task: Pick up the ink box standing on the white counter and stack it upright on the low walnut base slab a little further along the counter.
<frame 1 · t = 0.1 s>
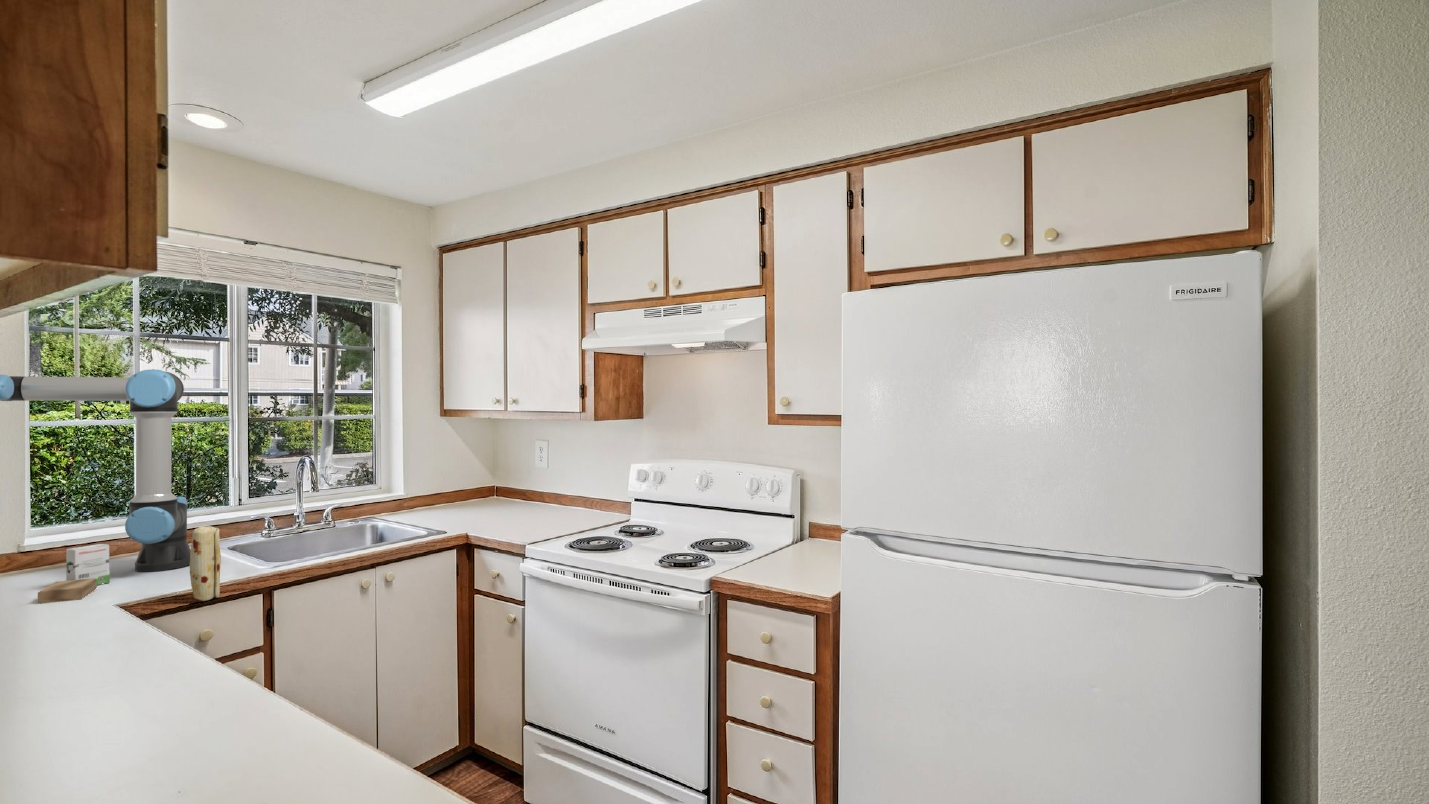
ink box: (88, 586, 201), on the countertop
base: (68, 596, 190), on the countertop
food model: (205, 600, 186), on the countertop
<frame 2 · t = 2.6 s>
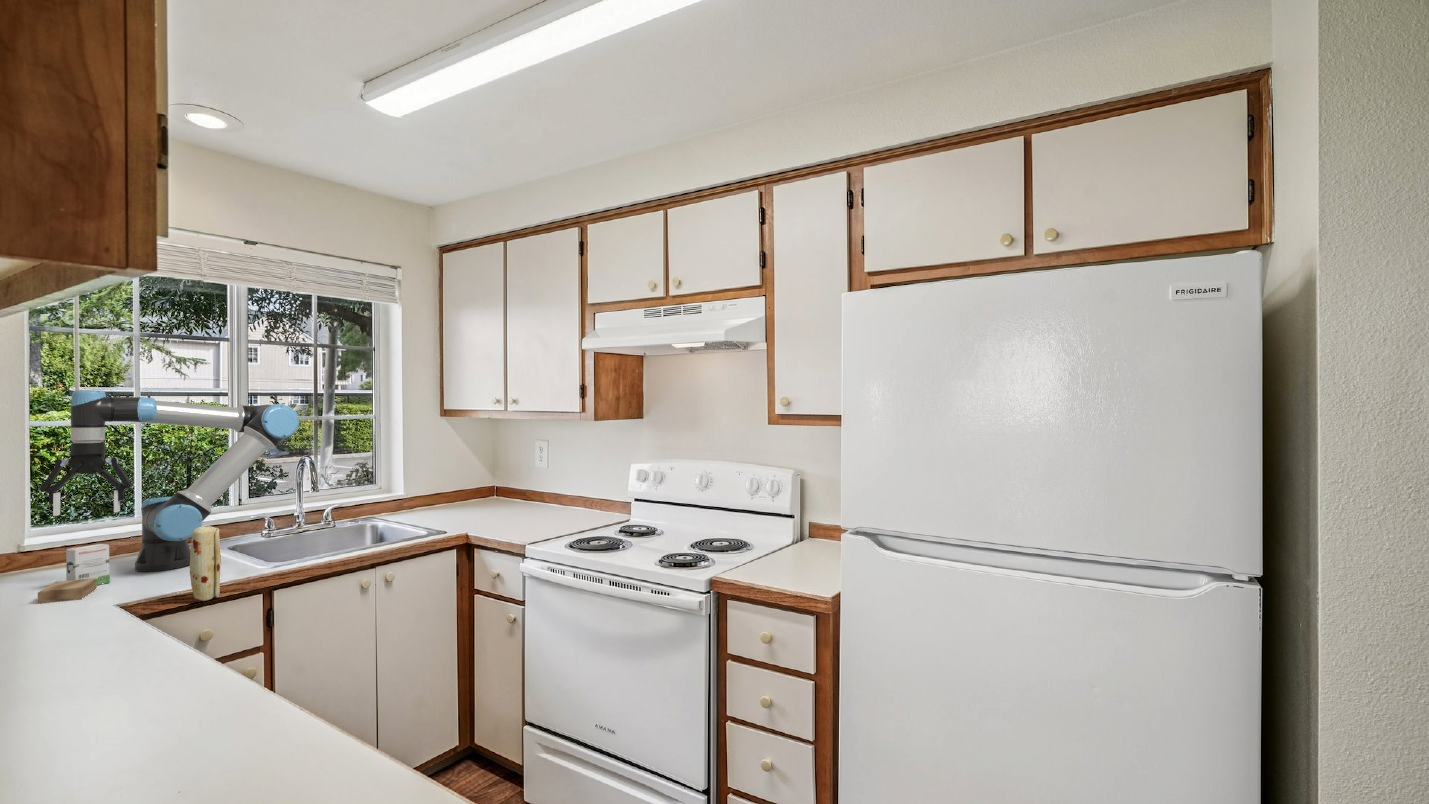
hand: (87, 513, 201), 21 cm above the countertop, fingers open, 13 cm apart
nothing on the countertop moved.
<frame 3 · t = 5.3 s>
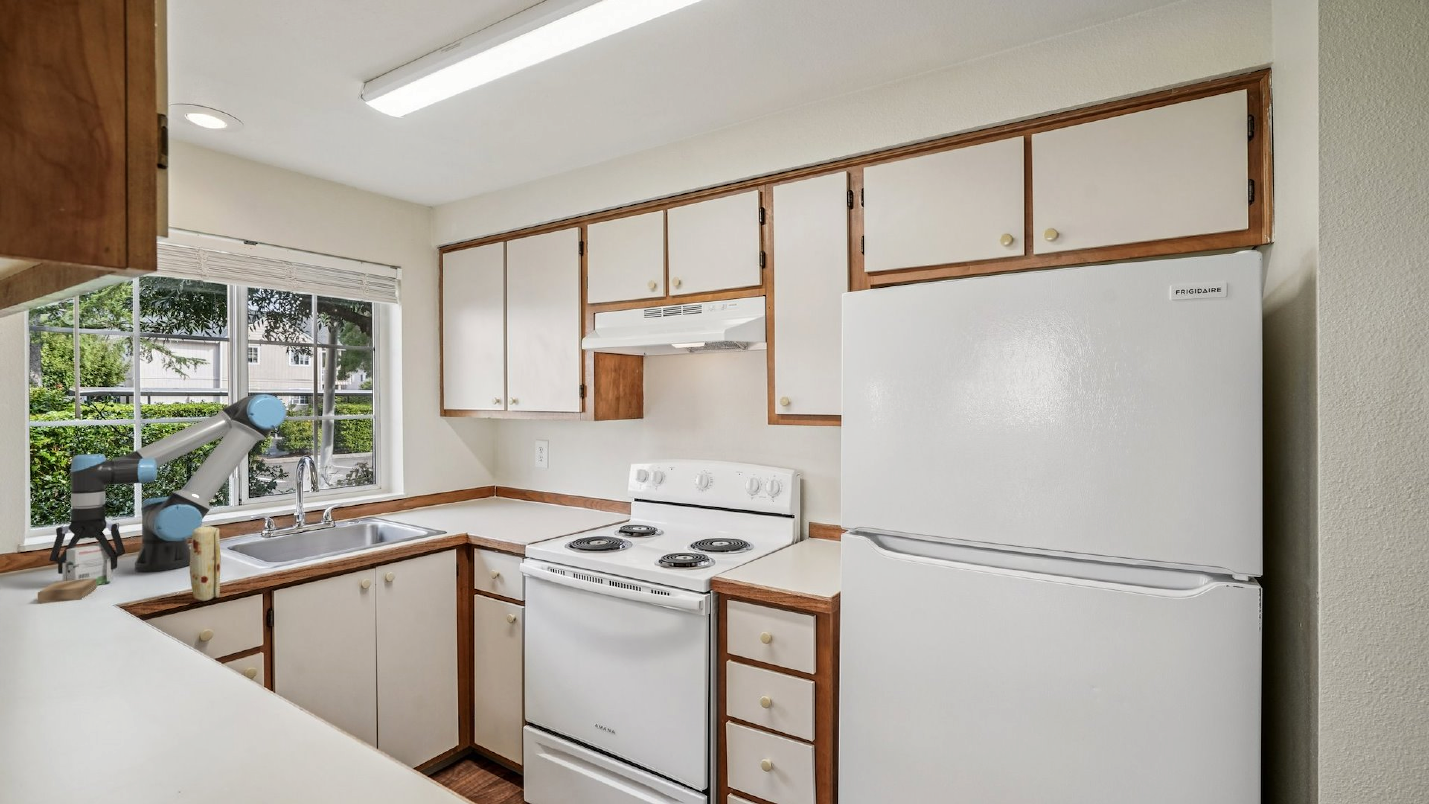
hand: (88, 582, 201), 1 cm above the countertop, fingers closed on ink box, 9 cm apart
ink box: (88, 586, 201), on the countertop, touching gripper
everything else where it was.
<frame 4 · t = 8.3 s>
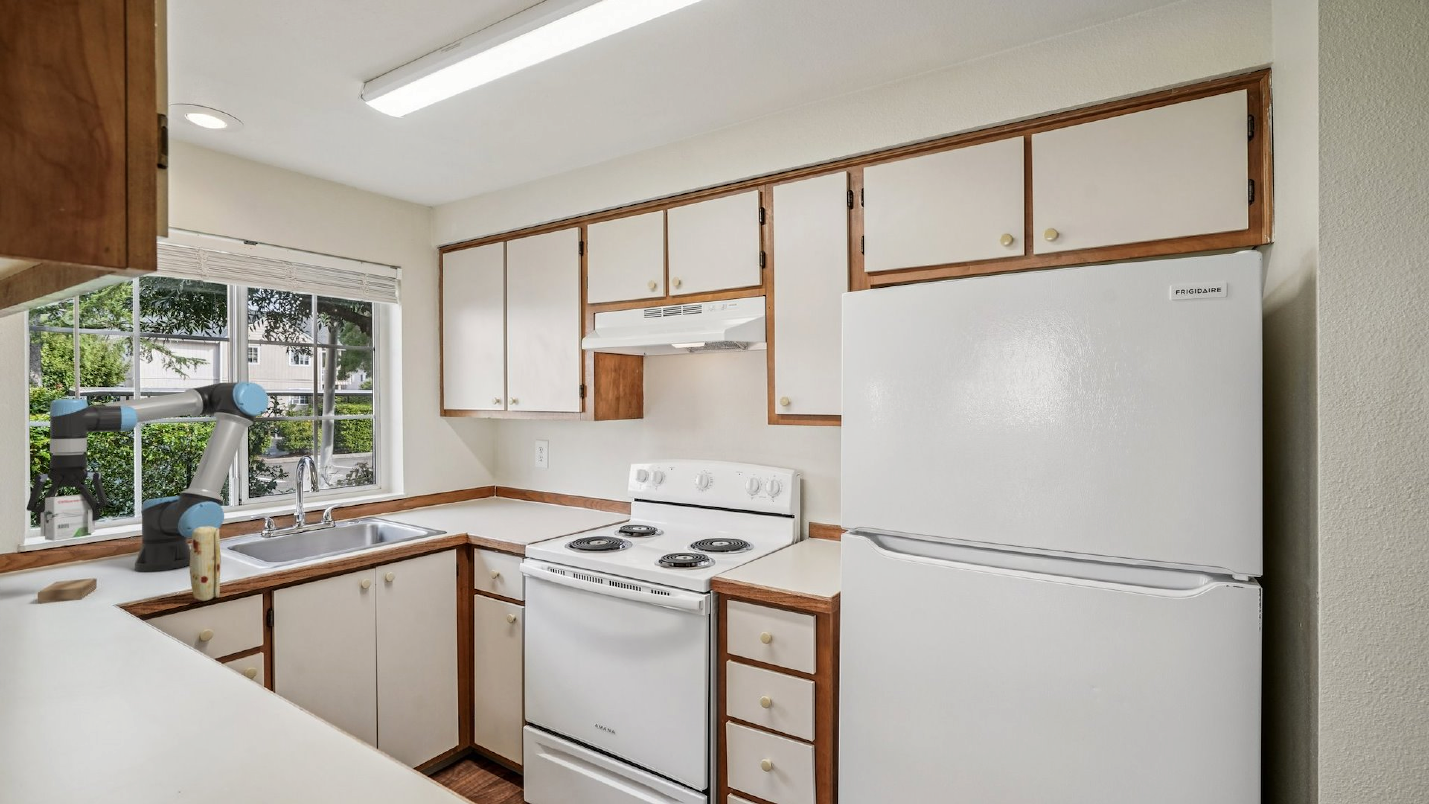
hand: (68, 533, 190), 17 cm above the countertop, fingers closed on ink box, 9 cm apart
ink box: (68, 538, 190), point 16 cm above the countertop, touching gripper
everything else where it was.
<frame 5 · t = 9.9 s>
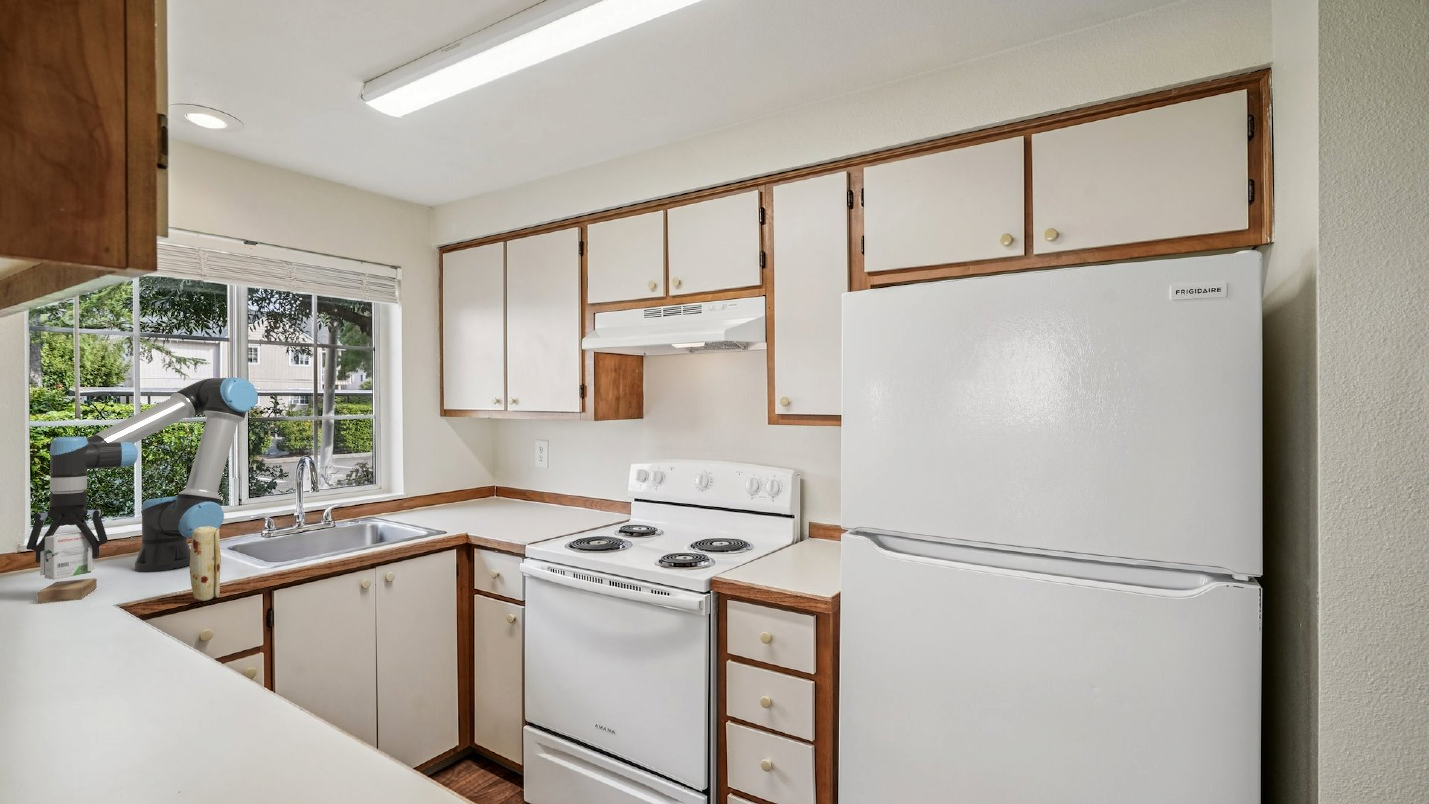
hand: (67, 572, 190), 7 cm above the countertop, fingers closed on ink box, 9 cm apart
ink box: (67, 576, 190), point 6 cm above the countertop, touching gripper
everything else where it was.
when the fingers open (5 cm above the countertop, at t = 11.3 s): ink box stays where it is, resting on base.
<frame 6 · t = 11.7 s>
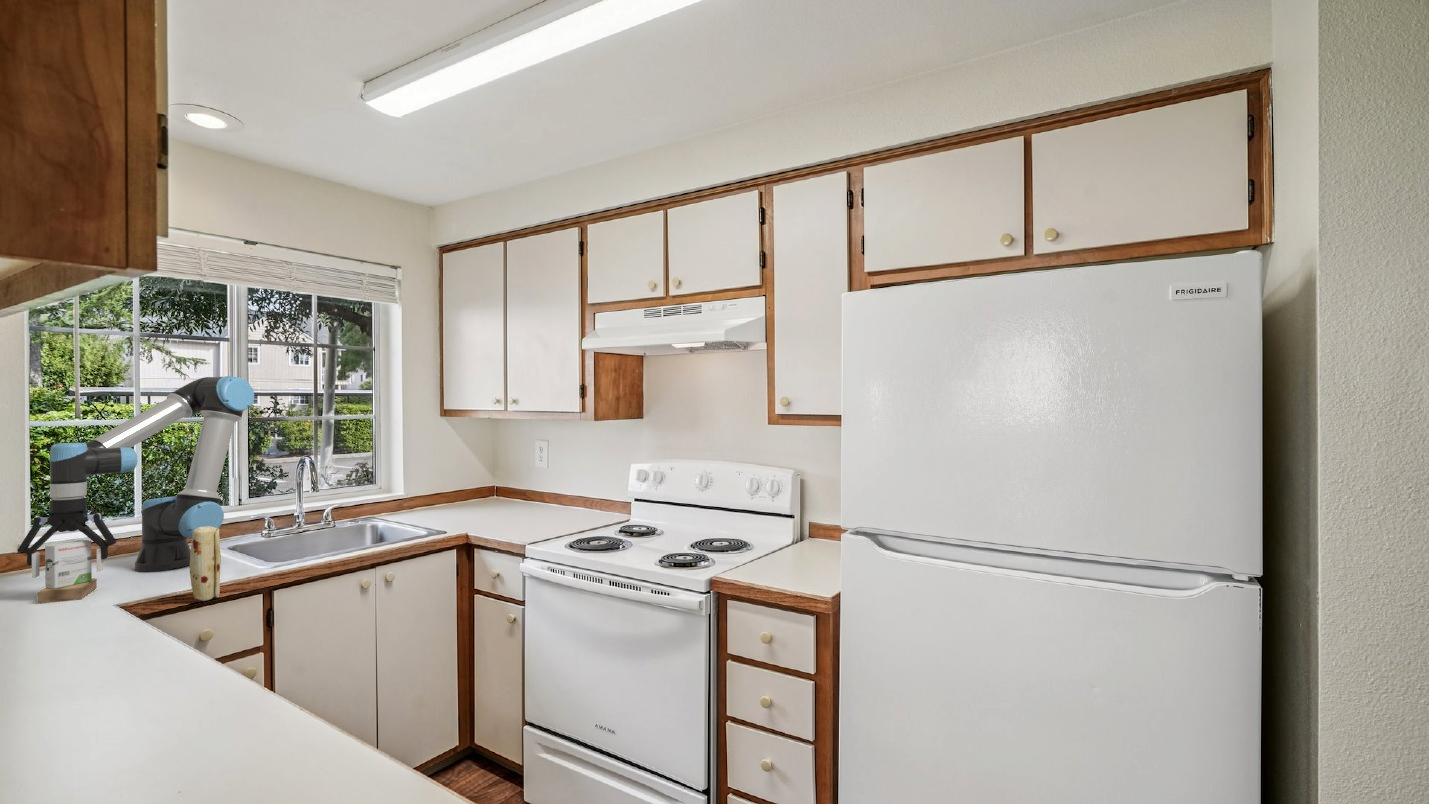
hand: (68, 573, 190), 6 cm above the countertop, fingers open, 13 cm apart
ink box: (68, 585, 190), point 3 cm above the countertop, touching base
everything else where it was.
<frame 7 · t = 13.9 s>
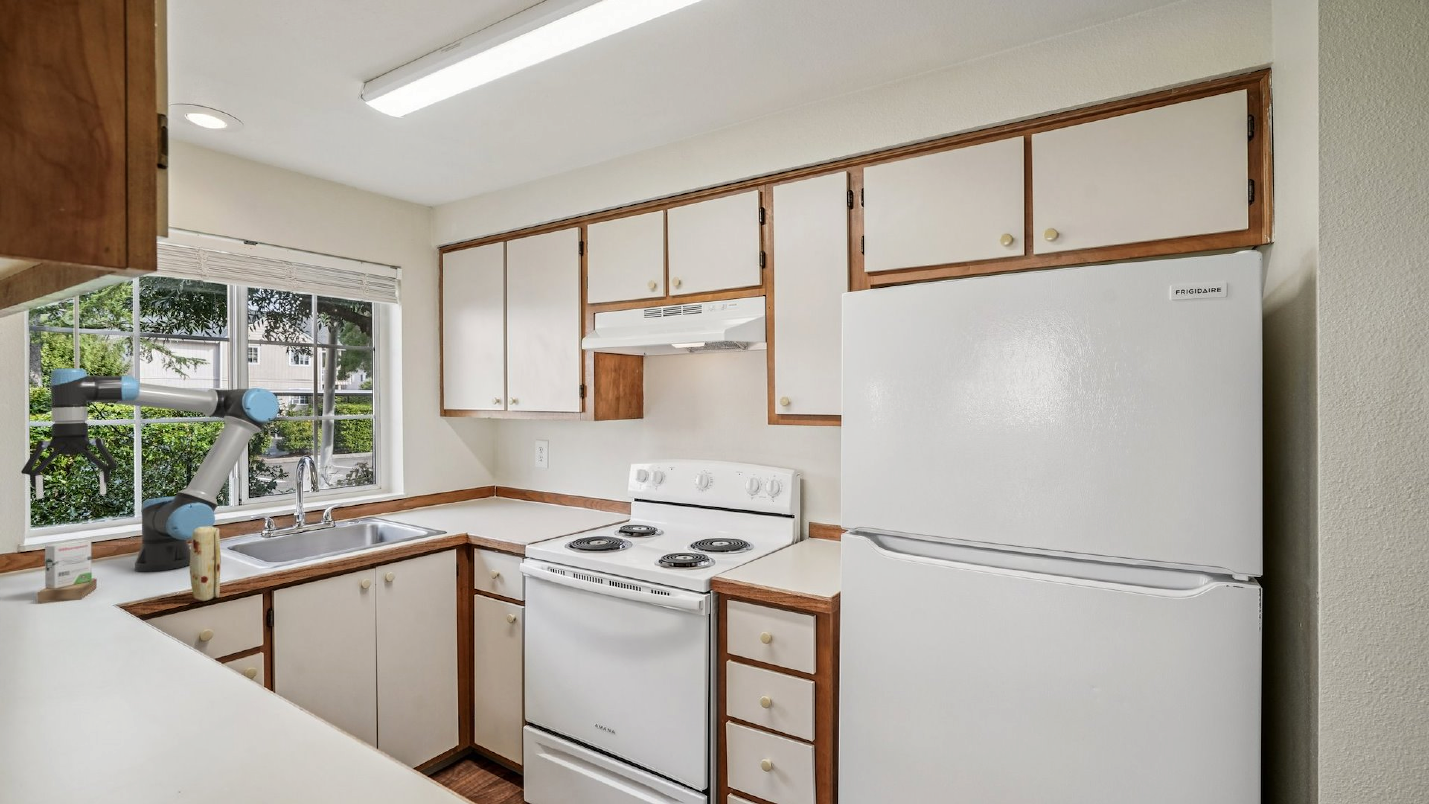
hand: (72, 496, 195), 27 cm above the countertop, fingers open, 13 cm apart
nothing on the countertop moved.
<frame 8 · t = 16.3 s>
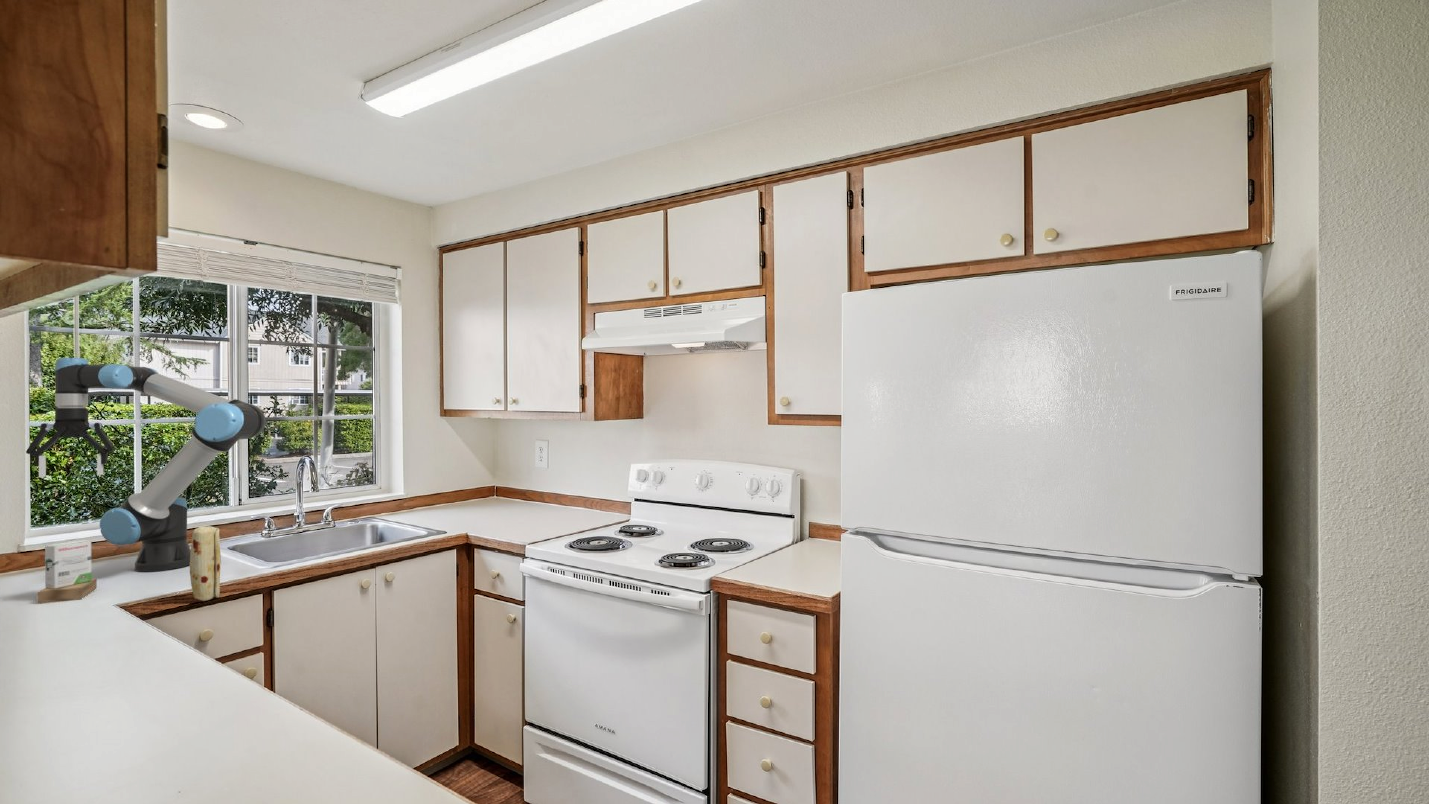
hand: (71, 475, 211), 32 cm above the countertop, fingers open, 13 cm apart
nothing on the countertop moved.
at the end: ink box inside the target area on the base (0.1 cm from its centre), point 3.0 cm above the base's base; ink box tilted 0°; the gripper is holding nothing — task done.
